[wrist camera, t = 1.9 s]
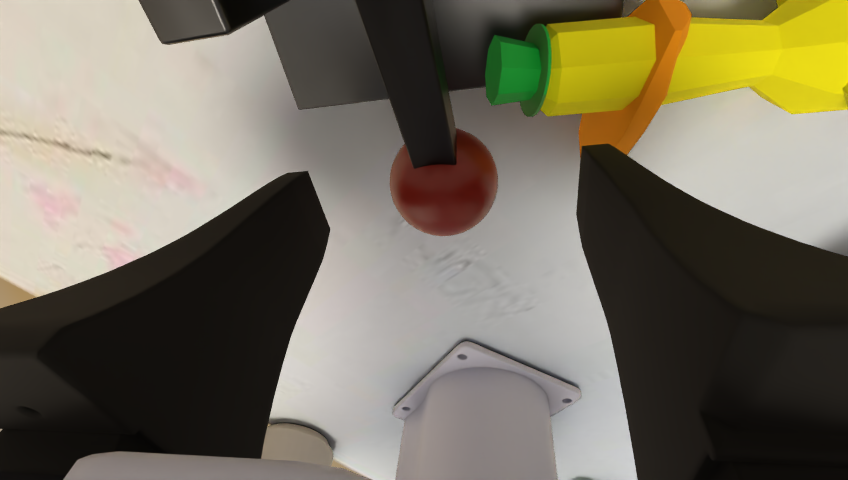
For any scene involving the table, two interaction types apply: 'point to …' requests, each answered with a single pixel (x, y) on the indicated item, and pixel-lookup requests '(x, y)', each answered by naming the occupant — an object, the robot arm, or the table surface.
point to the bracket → (364, 37)
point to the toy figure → (671, 64)
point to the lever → (427, 123)
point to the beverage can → (296, 444)
